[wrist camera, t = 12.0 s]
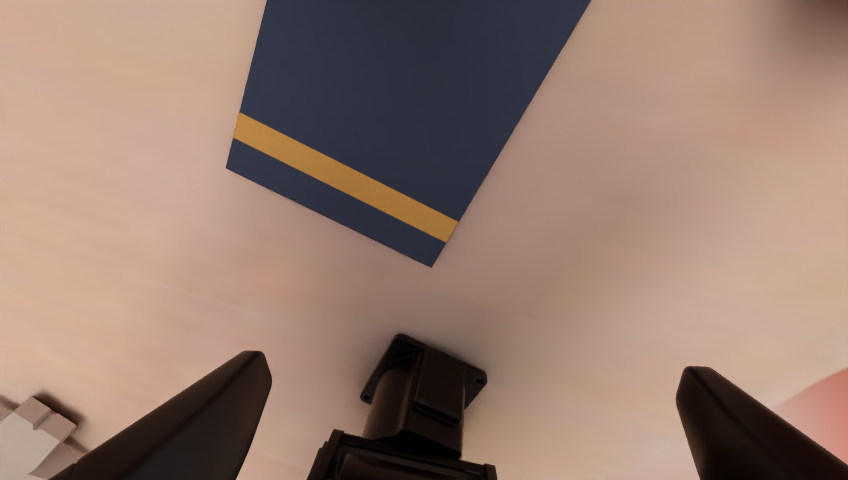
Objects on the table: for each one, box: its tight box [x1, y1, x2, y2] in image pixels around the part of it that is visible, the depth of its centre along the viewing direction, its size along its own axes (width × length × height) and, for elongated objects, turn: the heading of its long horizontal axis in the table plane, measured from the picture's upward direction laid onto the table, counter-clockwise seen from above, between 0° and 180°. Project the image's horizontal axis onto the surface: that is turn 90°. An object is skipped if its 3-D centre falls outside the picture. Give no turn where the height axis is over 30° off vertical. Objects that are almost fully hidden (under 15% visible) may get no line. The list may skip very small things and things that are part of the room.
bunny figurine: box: [0, 397, 78, 480], centre depth 34 cm, size 10×5×15 cm
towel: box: [226, 0, 591, 267], centre depth 17 cm, size 22×12×1 cm, turn 154°
